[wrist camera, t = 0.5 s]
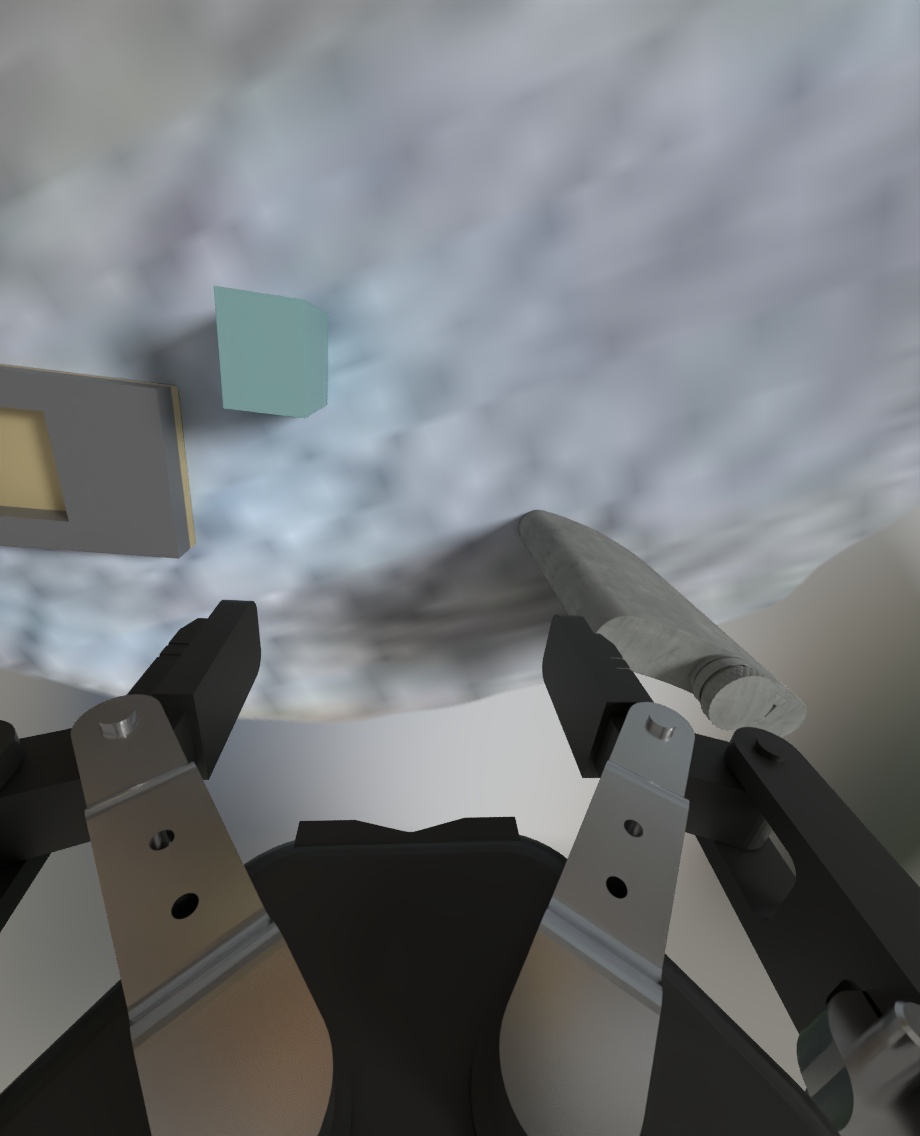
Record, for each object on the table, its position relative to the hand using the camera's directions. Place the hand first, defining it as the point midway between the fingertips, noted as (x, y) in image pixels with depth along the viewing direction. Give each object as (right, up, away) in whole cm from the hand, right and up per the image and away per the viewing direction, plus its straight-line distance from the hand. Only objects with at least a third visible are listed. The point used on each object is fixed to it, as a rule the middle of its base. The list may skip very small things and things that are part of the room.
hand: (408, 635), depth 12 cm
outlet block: (-29, +10, +21) cm, 37 cm away
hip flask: (+14, +3, +29) cm, 32 cm away
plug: (-10, +17, +20) cm, 28 cm away
